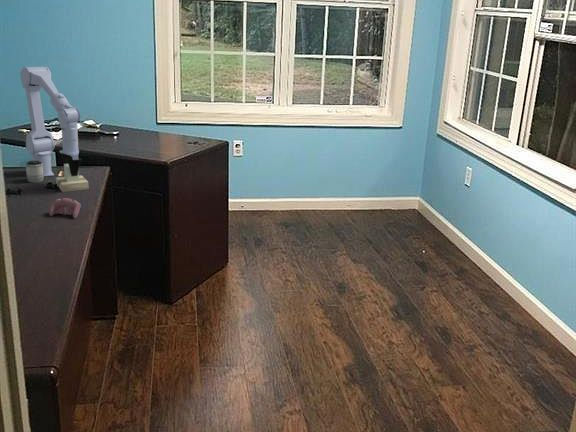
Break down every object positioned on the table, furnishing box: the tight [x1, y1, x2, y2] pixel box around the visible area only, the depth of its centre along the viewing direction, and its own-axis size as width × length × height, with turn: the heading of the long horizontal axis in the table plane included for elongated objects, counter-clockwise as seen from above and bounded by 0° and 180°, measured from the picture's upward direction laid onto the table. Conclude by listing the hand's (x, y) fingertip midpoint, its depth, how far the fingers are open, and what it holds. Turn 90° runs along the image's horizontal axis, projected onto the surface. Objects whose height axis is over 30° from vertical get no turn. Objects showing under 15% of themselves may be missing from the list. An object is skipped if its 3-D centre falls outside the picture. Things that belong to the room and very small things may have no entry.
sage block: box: [63, 163, 80, 182], centre depth 238 cm, size 4×4×6 cm
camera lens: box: [25, 160, 45, 184], centre depth 243 cm, size 6×6×8 cm
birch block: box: [55, 174, 90, 193], centre depth 239 cm, size 10×10×3 cm
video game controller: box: [49, 197, 82, 219], centre depth 210 cm, size 10×5×7 cm, turn 85°
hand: (71, 173), depth 238 cm, fingers open, 7 cm apart
